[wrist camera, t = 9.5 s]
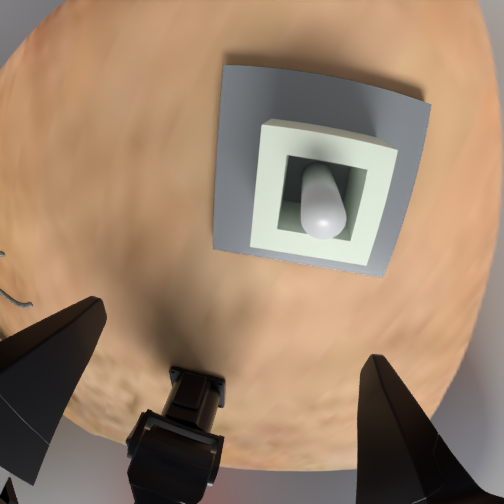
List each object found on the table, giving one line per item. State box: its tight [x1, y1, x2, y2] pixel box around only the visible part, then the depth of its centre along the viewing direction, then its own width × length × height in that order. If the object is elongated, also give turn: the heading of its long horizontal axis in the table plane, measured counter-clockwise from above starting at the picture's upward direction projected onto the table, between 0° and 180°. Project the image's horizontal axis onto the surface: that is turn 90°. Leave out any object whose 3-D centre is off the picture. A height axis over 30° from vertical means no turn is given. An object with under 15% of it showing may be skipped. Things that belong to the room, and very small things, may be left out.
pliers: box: [0, 252, 33, 308], centre depth 32 cm, size 10×1×20 cm
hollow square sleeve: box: [250, 118, 398, 266], centre depth 14 cm, size 6×6×4 cm
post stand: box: [213, 65, 431, 278], centre depth 14 cm, size 12×12×7 cm
